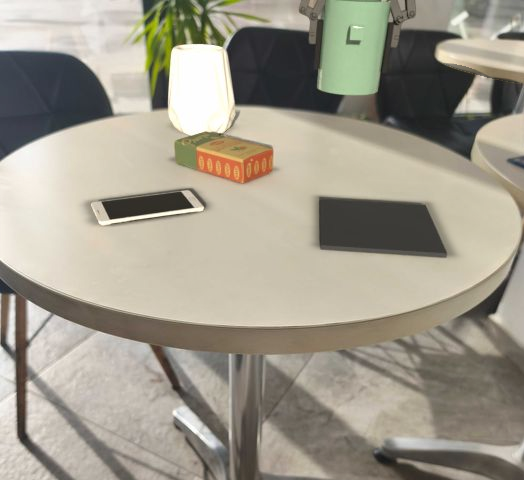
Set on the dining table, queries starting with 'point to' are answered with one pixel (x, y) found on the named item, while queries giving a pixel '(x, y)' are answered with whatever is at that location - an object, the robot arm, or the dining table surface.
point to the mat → (378, 228)
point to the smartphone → (146, 207)
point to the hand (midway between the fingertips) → (349, 69)
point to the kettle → (352, 46)
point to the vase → (200, 89)
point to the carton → (224, 156)
